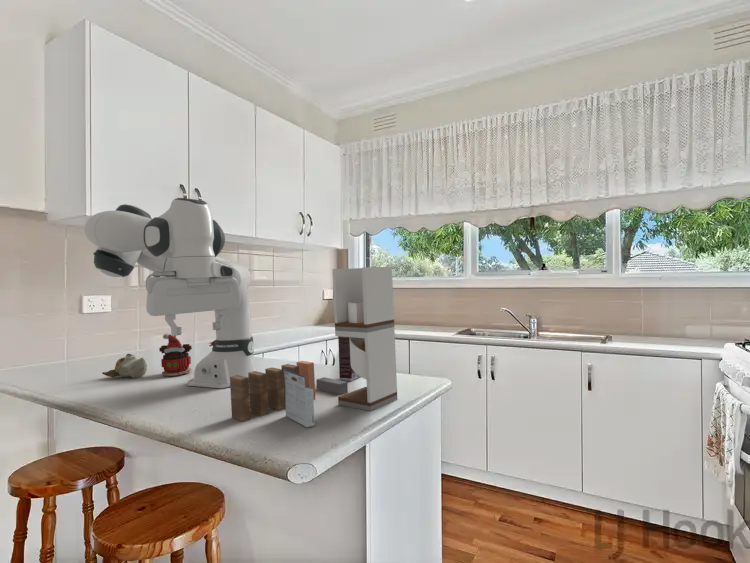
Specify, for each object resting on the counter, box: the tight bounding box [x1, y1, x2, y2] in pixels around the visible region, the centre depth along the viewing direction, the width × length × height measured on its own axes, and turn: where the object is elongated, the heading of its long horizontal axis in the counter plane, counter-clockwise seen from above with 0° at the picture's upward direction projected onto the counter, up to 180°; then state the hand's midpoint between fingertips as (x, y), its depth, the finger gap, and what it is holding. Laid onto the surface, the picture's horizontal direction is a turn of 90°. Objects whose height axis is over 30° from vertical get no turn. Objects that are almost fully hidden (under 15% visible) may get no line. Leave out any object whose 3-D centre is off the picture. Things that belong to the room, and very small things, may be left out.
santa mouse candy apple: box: [158, 333, 193, 377], centre depth 160 cm, size 11×9×18 cm
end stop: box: [315, 377, 349, 396], centre depth 127 cm, size 3×10×3 cm, turn 47°
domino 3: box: [264, 367, 286, 411], centre depth 113 cm, size 2×5×10 cm, turn 47°
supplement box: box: [337, 336, 362, 382], centre depth 142 cm, size 9×5×16 cm, turn 151°
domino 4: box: [280, 363, 299, 404], centre depth 117 cm, size 2×5×10 cm, turn 47°
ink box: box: [284, 369, 316, 429], centre depth 102 cm, size 12×2×12 cm, turn 35°
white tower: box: [331, 266, 398, 412], centre depth 115 cm, size 11×11×35 cm
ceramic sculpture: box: [101, 353, 148, 379], centre depth 159 cm, size 11×9×15 cm
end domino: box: [296, 360, 316, 400], centre depth 120 cm, size 2×5×10 cm, turn 47°
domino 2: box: [248, 370, 269, 417], centre depth 109 cm, size 2×5×10 cm, turn 47°
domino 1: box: [230, 375, 251, 423], centre depth 106 cm, size 2×5×10 cm, turn 47°
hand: (197, 332), depth 98 cm, fingers open, 8 cm apart
